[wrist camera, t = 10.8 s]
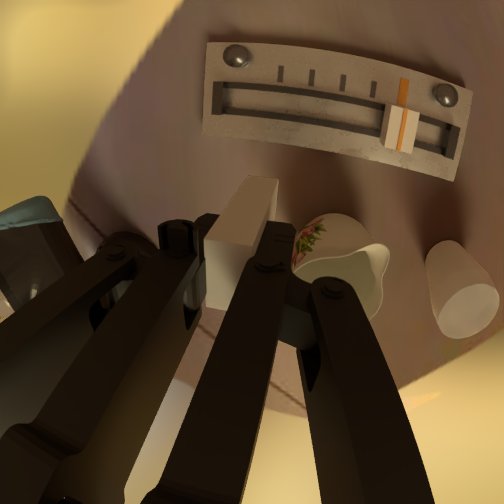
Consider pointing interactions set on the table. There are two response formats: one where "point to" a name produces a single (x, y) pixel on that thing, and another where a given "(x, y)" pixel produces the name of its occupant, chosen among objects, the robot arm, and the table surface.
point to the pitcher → (342, 257)
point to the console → (331, 103)
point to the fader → (399, 128)
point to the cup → (459, 291)
